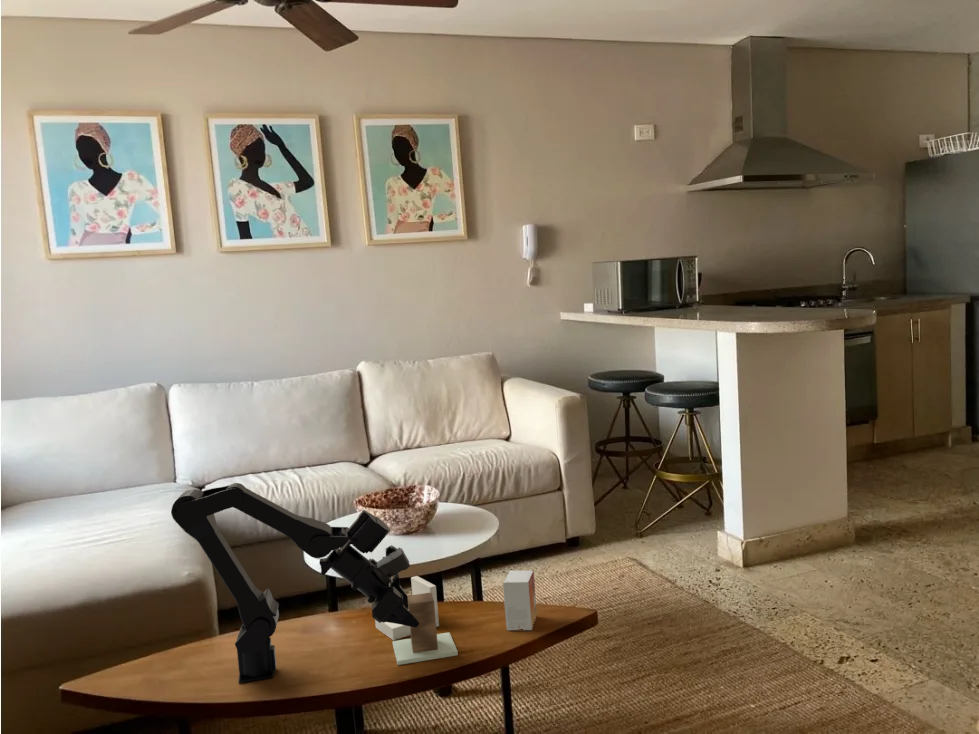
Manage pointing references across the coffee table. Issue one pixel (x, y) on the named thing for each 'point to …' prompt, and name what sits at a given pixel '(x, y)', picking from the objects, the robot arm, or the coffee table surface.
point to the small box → (520, 600)
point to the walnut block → (423, 622)
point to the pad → (407, 656)
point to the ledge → (400, 630)
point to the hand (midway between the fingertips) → (416, 616)
